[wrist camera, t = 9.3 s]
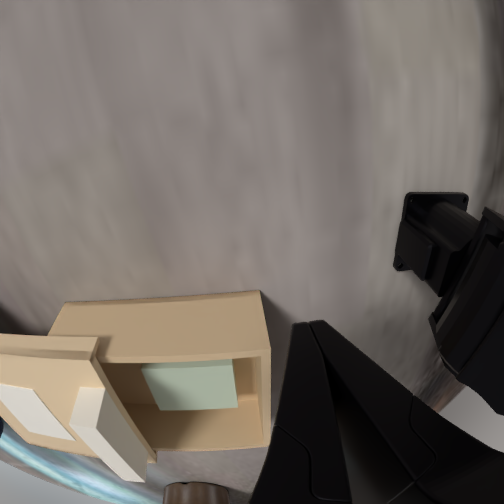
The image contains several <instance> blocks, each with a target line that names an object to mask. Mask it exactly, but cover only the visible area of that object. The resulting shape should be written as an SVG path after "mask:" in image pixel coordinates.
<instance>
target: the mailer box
mask: <svg viewBox="0 0 504 504" xmlns="http://www.w3.org/2000/svg"><path fill="white" fill-rule="evenodd" d="M47 336H63V337H98V338H99V340H100V342H99V345H98V348H97V351H96V354H95V357H96V359H97V360H98V362H99V364H100V366H101V368H102V370H103V372H104V374H105V375H106V377H107V379H108V381H109V383H110V384H111V386H112V388H113V390H114V391H115V393H116V395H117V396H118V398H119V400H120V401H121V403H122V405H123V406H124V408H125V410H126V411H127V413H128V414H129V416H130V417H131V419H132V421H133V422H134V424H135V425H136V427H137V428H138V430H139V431H140V433H141V434H142V436H143V437H144V439H145V440H146V441H147V443H148V444H149V446H150V447H151V449H152V450H153V451H215V450H233V449H246V448H257V447H266V446H269V444H270V424H271V347H270V342H269V337H268V332H267V327H266V321H265V316H264V311H263V306H262V301H261V296H260V291H259V290H255V291H243V292H232V293H219V294H207V295H193V296H179V297H164V298H147V299H129V300H109V301H85V302H65V304H64V305H63V307H62V309H61V311H60V313H59V314H58V316H57V318H56V320H55V322H54V324H53V326H52V328H51V330H50V331H49V333H48V335H47Z"/></svg>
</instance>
